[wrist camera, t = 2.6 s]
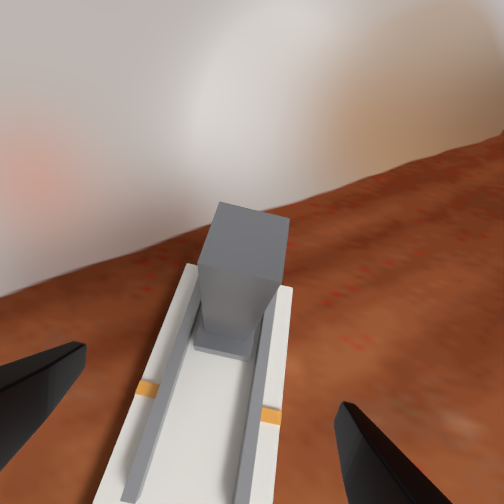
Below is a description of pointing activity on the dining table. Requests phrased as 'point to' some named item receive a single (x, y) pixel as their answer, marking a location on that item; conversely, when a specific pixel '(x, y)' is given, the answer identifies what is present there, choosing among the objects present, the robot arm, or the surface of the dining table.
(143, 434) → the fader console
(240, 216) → the fader tab
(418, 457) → the dining table surface
